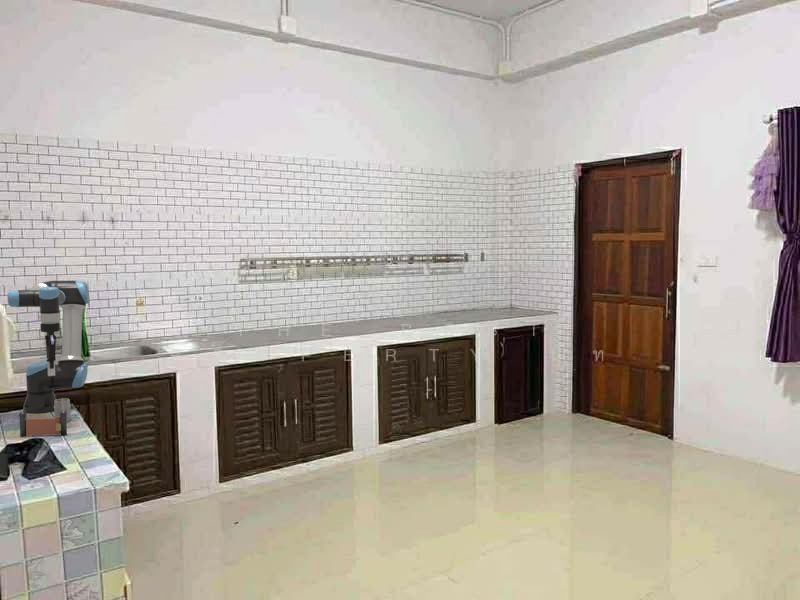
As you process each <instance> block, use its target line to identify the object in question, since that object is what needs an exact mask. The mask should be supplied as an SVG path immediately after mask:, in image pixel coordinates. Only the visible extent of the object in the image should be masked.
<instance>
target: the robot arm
mask: <svg viewBox="0 0 800 600" xmlns="http://www.w3.org/2000/svg"><path fill="white" fill-rule="evenodd" d="M7 293H8V294H7V304H8V306H9V307H10V308H34V307H35V308H39V314H40V315H38V318H39V319H40V325H39V327H40V332H42V333H46V335H44V339H45V348H46V351H45V352H46V361H41V362H36V363H33V364H30V365H28V366H27V367H26V374H25V377H26V379H25V380H26V398H25V400H24V403H23V406H22V407H23V408H22V410H23V411H22V412H25V413H26V414H41V413H49V412H53V411H54V401H55V400H57V397H56V394H55V391H54V390H55V389H64V388H66V389H68V388H72V389H74V388H81V387H83V386H84V385H85V383H86V381H87V377H88V364H87V363H85V360H84V358H83V357H82V337H83V336H82V335H83V334H82V333H83V332H82V331H83V329H82V328H83V327H82V326H83V310H84V309H86V307H87V306H86V305H87V304H90V299H91V298H90V290H89V287H88V284H87V282H86V281H84V280H48V281H43V282H40V283H37V284H34V285H33V286H32V287H29V288H26V289H12V290H9V291H8V292H7ZM60 308H61V309H62V310H63V313H62V314H63V315H62V337H61V338H62V339H61V340H62V343H61V345H62V346H61V348H62V349H61V357H60V359H58V360H57V361H58V363H57V364H56V359H57V358H56V354H57V353H56V351H57V349H56V345H57V344H56V343H57V336H56V334H55V333H58V332H61V331H60V330H61V326H60V325H61V324H60V321H61V315H60V314H61V313H60Z"/></svg>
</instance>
